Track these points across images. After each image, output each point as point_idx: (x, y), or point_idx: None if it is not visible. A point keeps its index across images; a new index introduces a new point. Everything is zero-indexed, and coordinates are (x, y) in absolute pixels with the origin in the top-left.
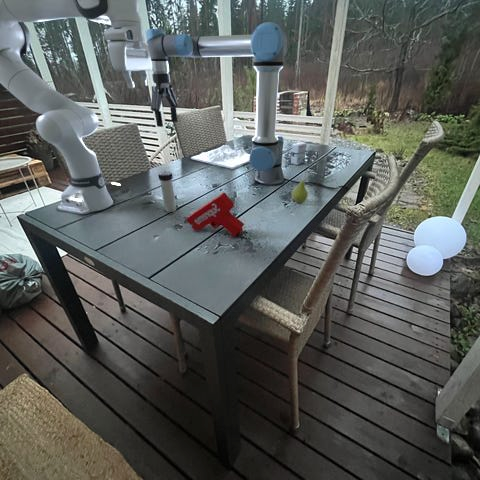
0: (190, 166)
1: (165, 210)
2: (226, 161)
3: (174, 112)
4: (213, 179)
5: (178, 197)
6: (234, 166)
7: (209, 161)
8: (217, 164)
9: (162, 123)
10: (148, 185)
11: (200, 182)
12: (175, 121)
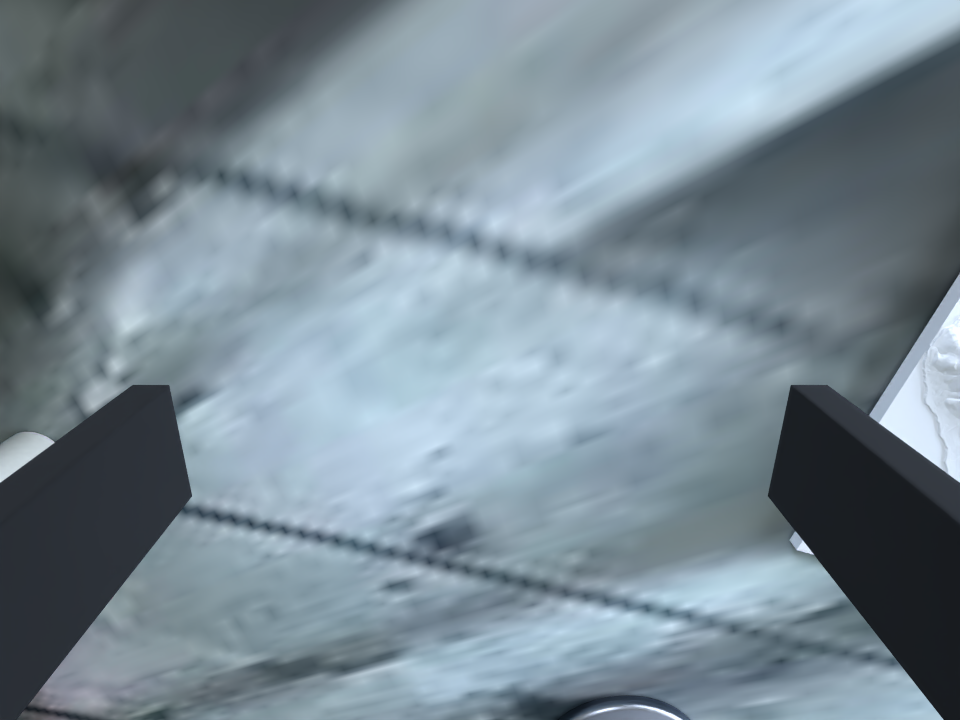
0: (831, 192)
1: (9, 437)
2: (944, 464)
3: (903, 624)
4: (554, 490)
5: (194, 417)
6: (813, 554)
7: (939, 334)
8: (876, 414)
9: (155, 534)
10: (276, 84)
11: (475, 435)
12: (777, 471)
